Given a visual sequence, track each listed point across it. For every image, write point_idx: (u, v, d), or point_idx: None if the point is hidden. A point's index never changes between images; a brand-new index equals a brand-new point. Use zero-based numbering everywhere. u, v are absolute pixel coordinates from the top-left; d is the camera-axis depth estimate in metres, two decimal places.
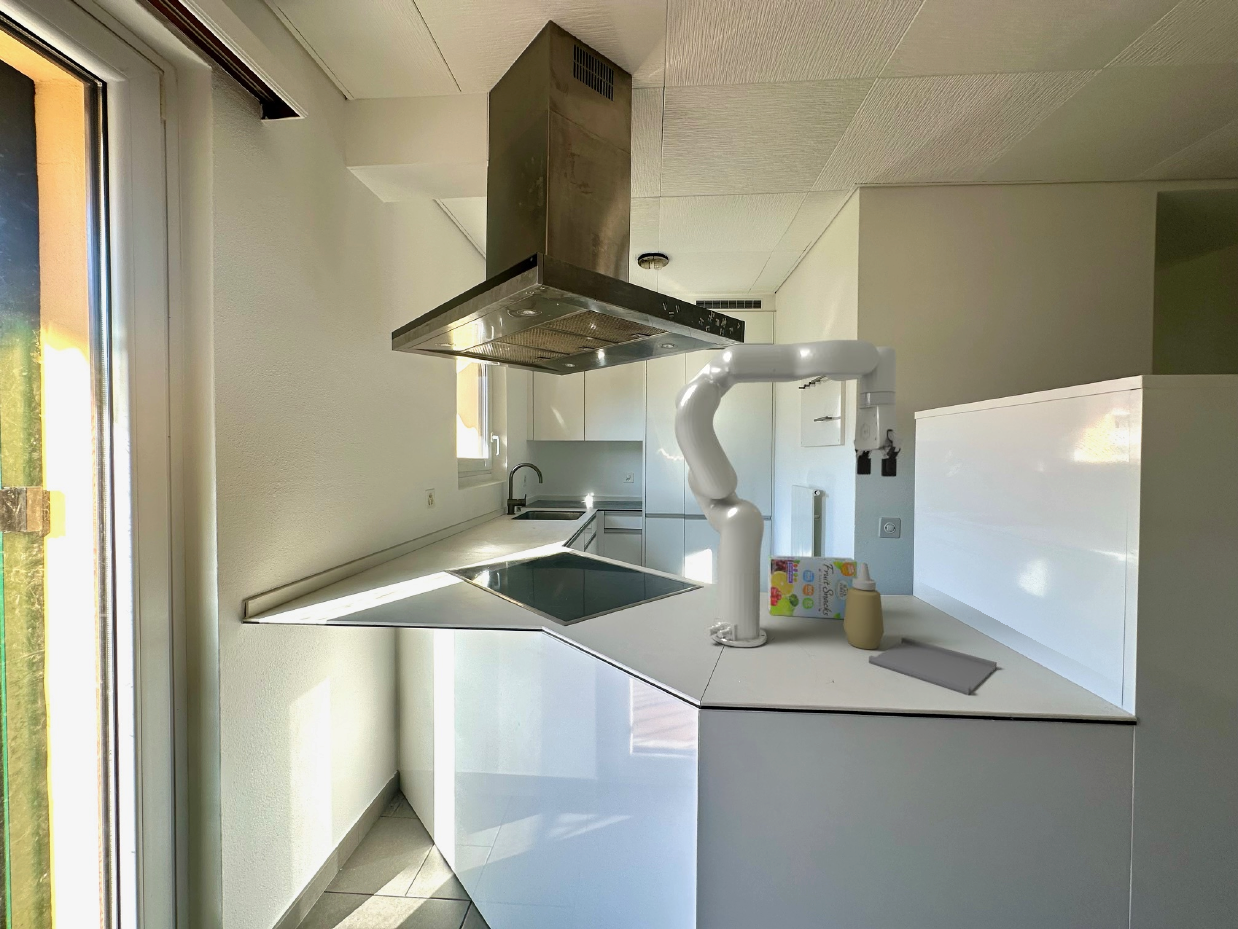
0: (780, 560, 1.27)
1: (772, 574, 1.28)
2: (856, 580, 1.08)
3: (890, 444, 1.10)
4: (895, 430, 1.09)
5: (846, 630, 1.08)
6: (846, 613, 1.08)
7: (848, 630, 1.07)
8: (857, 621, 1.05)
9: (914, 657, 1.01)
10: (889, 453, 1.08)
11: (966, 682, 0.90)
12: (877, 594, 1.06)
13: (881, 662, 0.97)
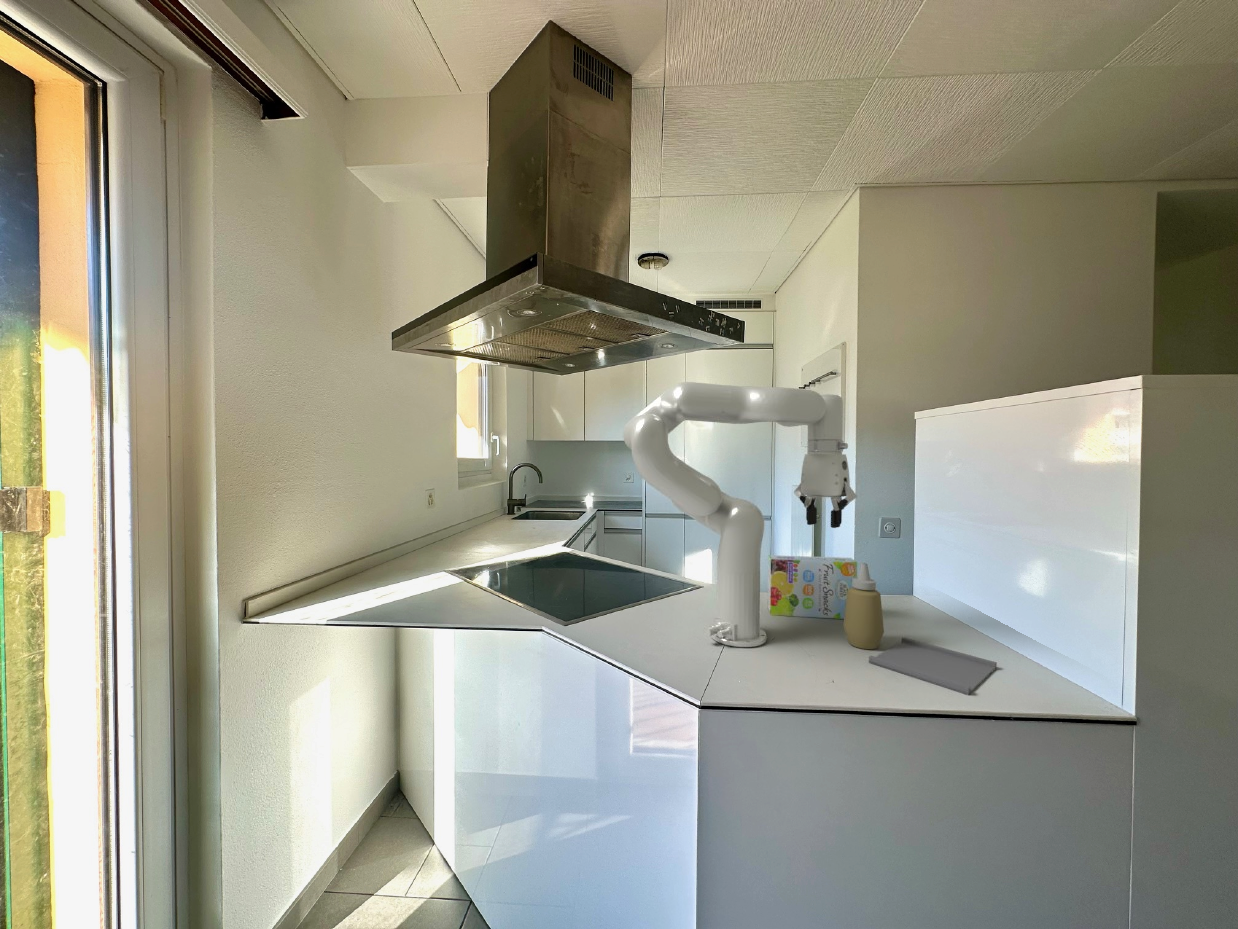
0: (780, 560, 1.27)
1: (772, 574, 1.28)
2: (856, 580, 1.08)
3: None
4: None
5: (846, 630, 1.08)
6: (846, 613, 1.08)
7: (848, 630, 1.07)
8: (857, 621, 1.05)
9: (914, 657, 1.01)
10: None
11: (966, 682, 0.90)
12: (877, 594, 1.06)
13: (881, 662, 0.97)
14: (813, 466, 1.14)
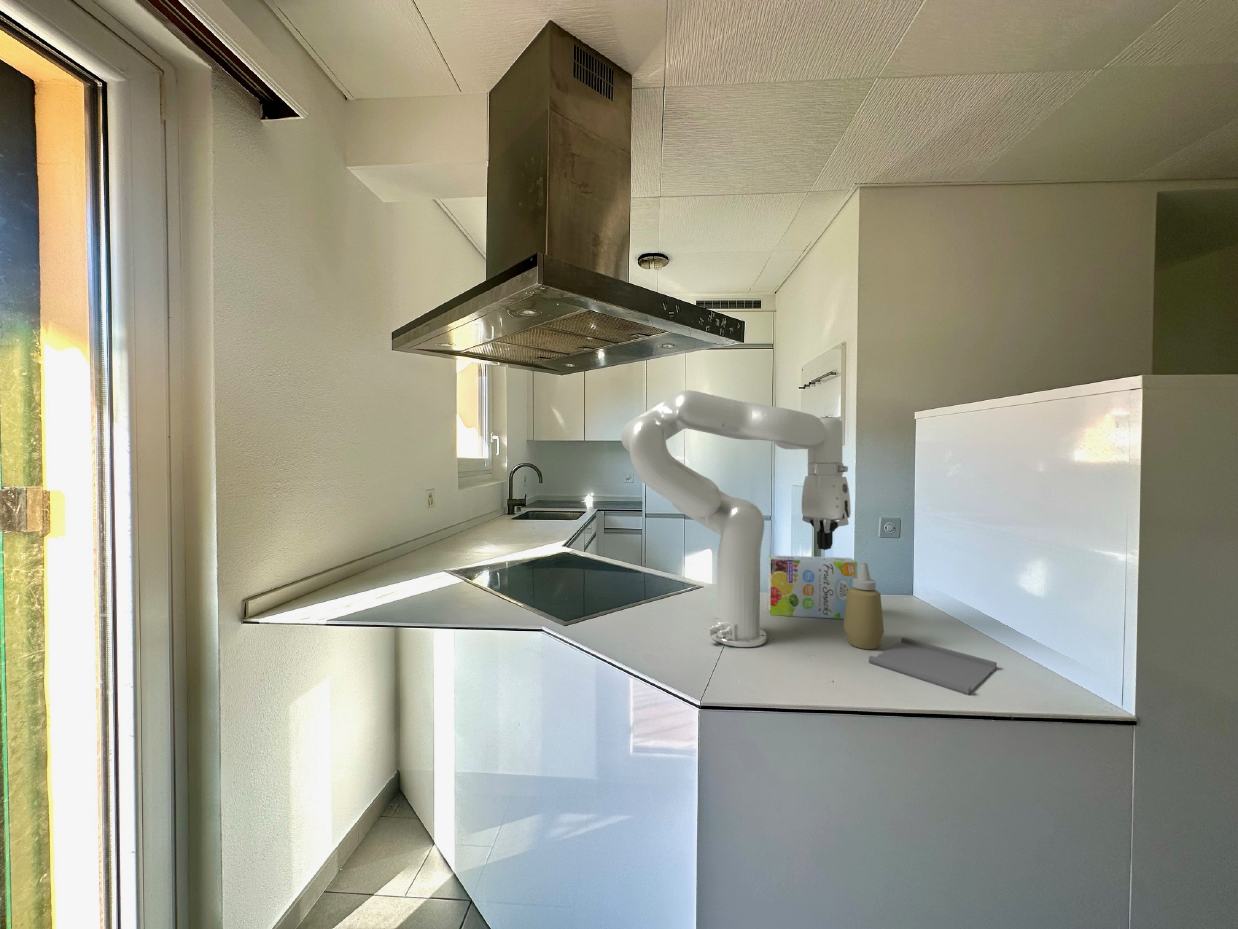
0: (780, 560, 1.27)
1: (772, 574, 1.28)
2: (856, 580, 1.08)
3: None
4: None
5: (846, 630, 1.08)
6: (846, 613, 1.08)
7: (848, 630, 1.07)
8: (857, 621, 1.05)
9: (914, 657, 1.01)
10: None
11: (966, 682, 0.90)
12: (877, 594, 1.06)
13: (881, 662, 0.97)
14: (813, 489, 1.14)
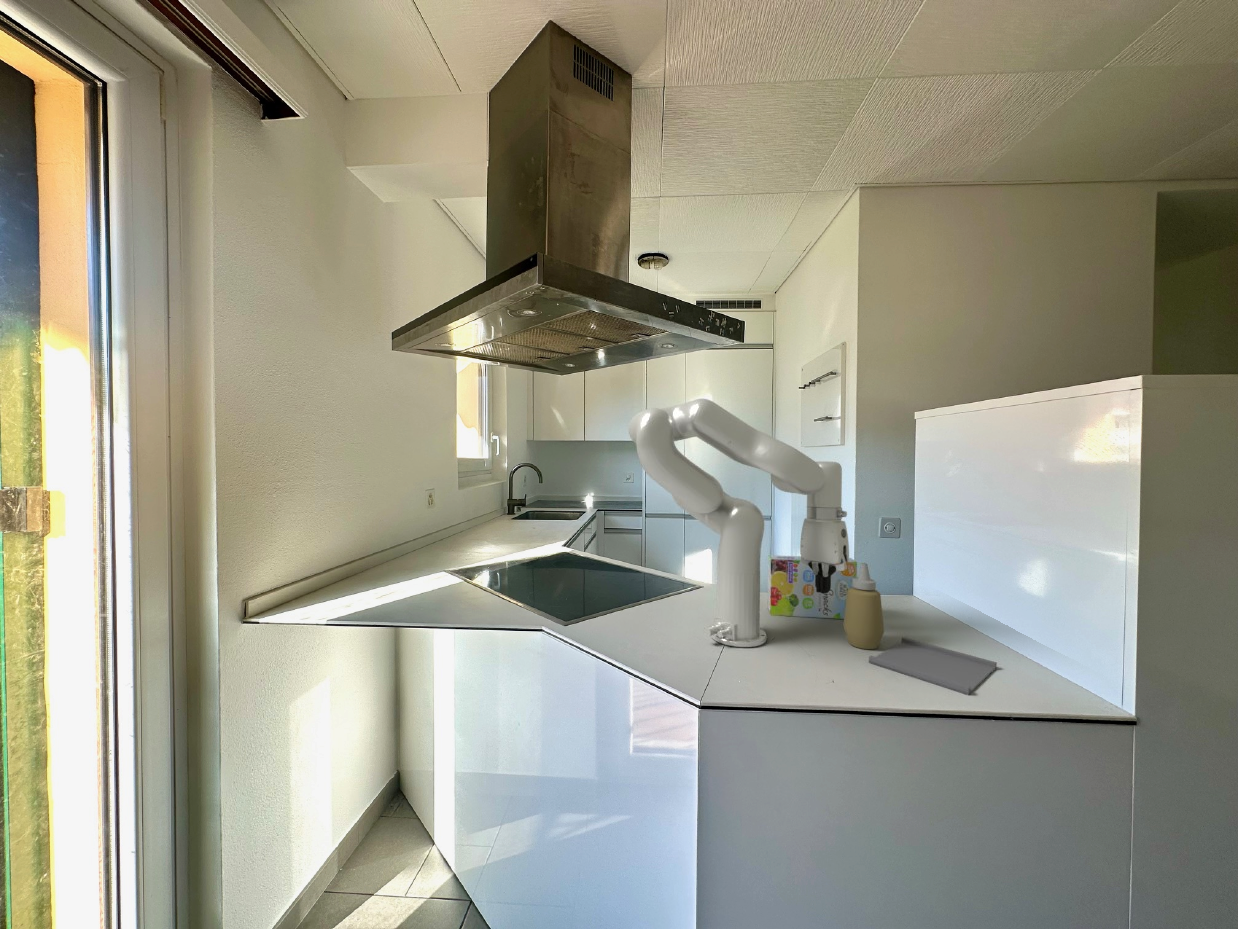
0: (780, 560, 1.27)
1: (772, 574, 1.28)
2: (856, 580, 1.08)
3: None
4: None
5: (846, 630, 1.08)
6: (846, 613, 1.08)
7: (848, 630, 1.07)
8: (857, 621, 1.05)
9: (914, 657, 1.01)
10: None
11: (966, 682, 0.90)
12: (877, 594, 1.06)
13: (881, 662, 0.97)
14: (812, 532, 1.14)
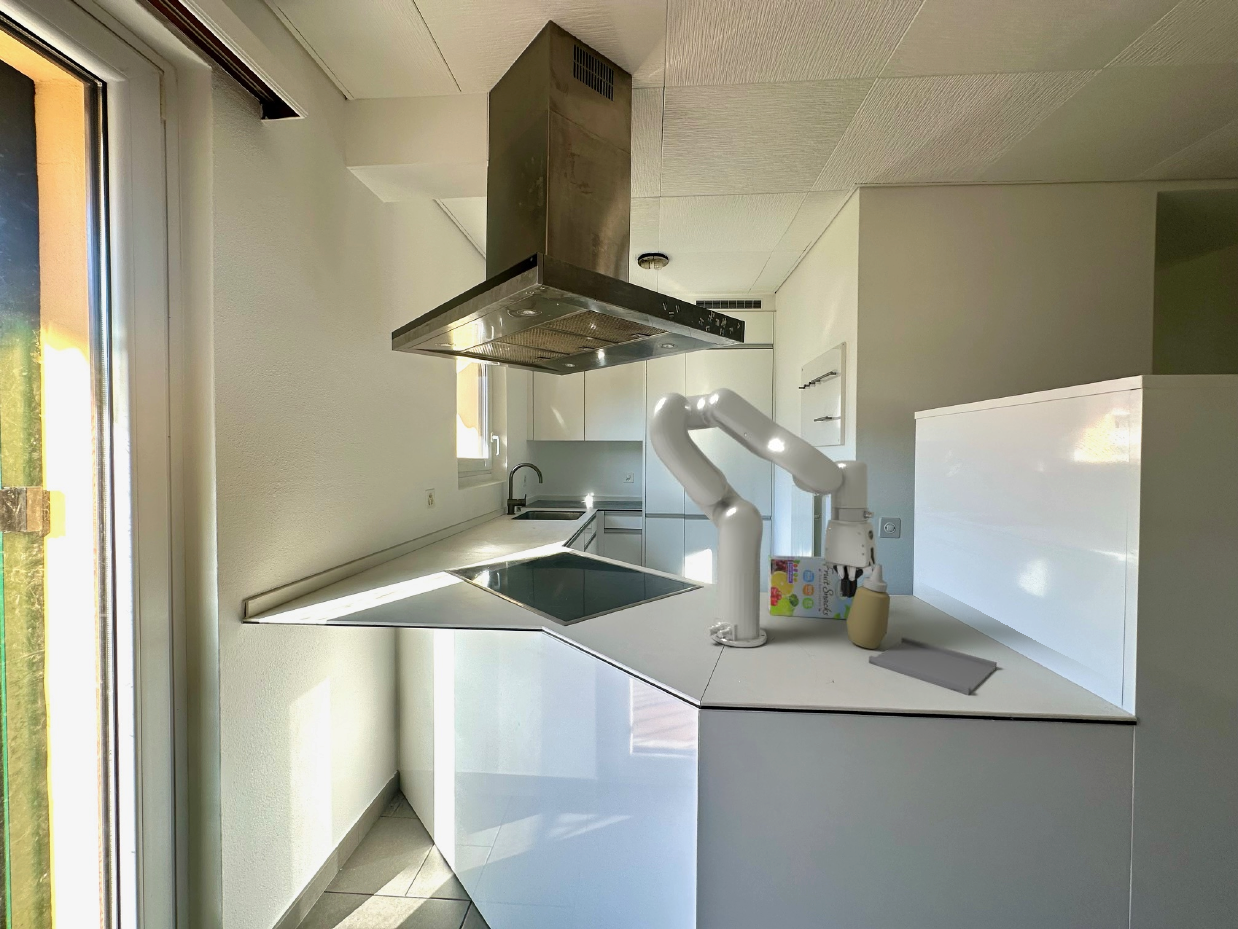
0: (780, 560, 1.27)
1: (772, 574, 1.28)
2: (868, 580, 1.06)
3: None
4: None
5: (849, 627, 1.07)
6: (852, 610, 1.07)
7: (851, 627, 1.06)
8: (862, 621, 1.05)
9: (914, 657, 1.01)
10: None
11: (966, 682, 0.90)
12: (887, 597, 1.04)
13: (881, 662, 0.97)
14: (837, 534, 1.10)
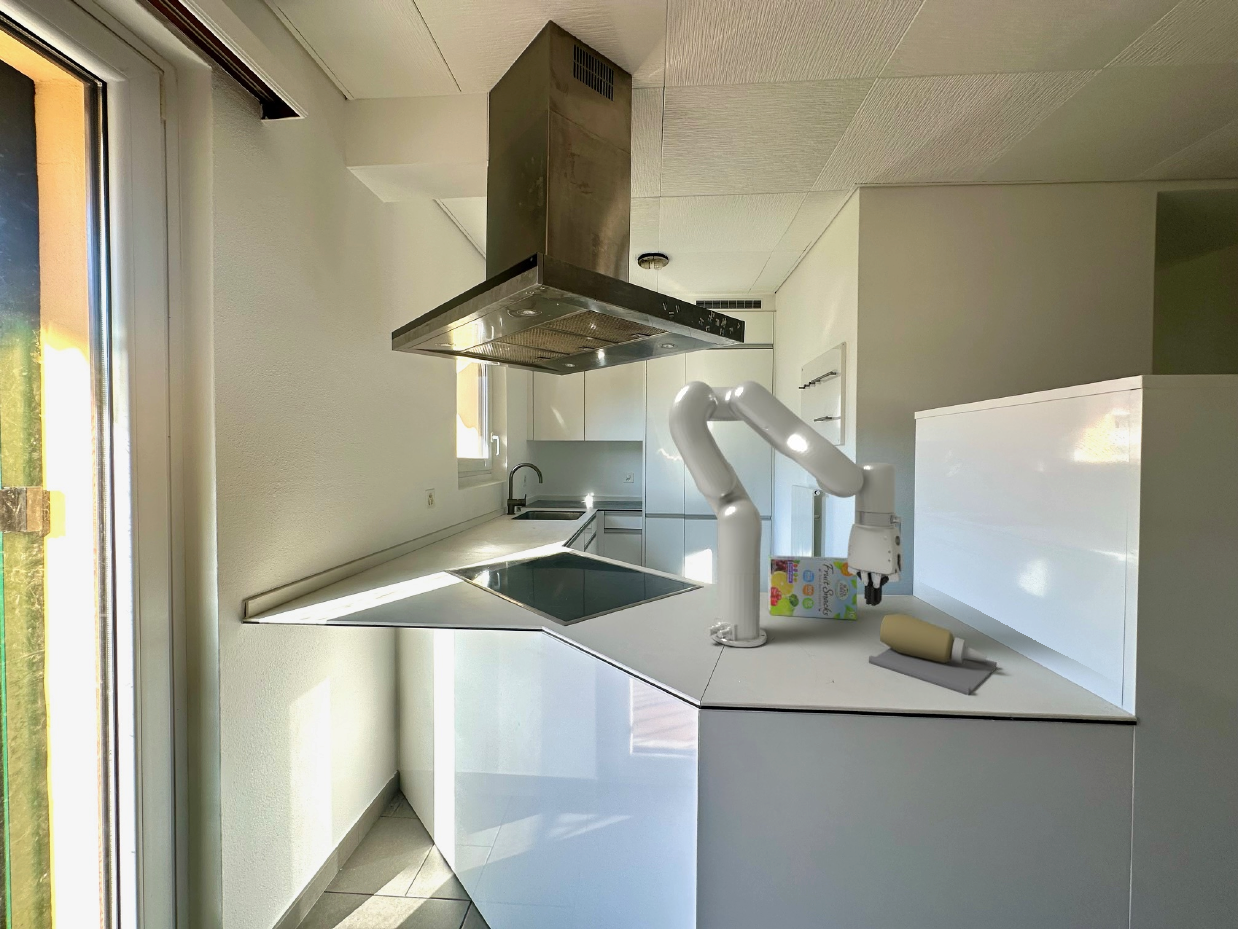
0: (780, 560, 1.27)
1: (772, 574, 1.28)
2: (963, 648, 0.95)
3: None
4: None
5: (898, 623, 1.01)
6: (919, 627, 0.99)
7: (899, 627, 1.01)
8: (911, 641, 0.99)
9: (914, 657, 1.01)
10: None
11: (966, 682, 0.90)
12: (945, 662, 0.98)
13: (881, 662, 0.97)
14: (862, 540, 1.06)
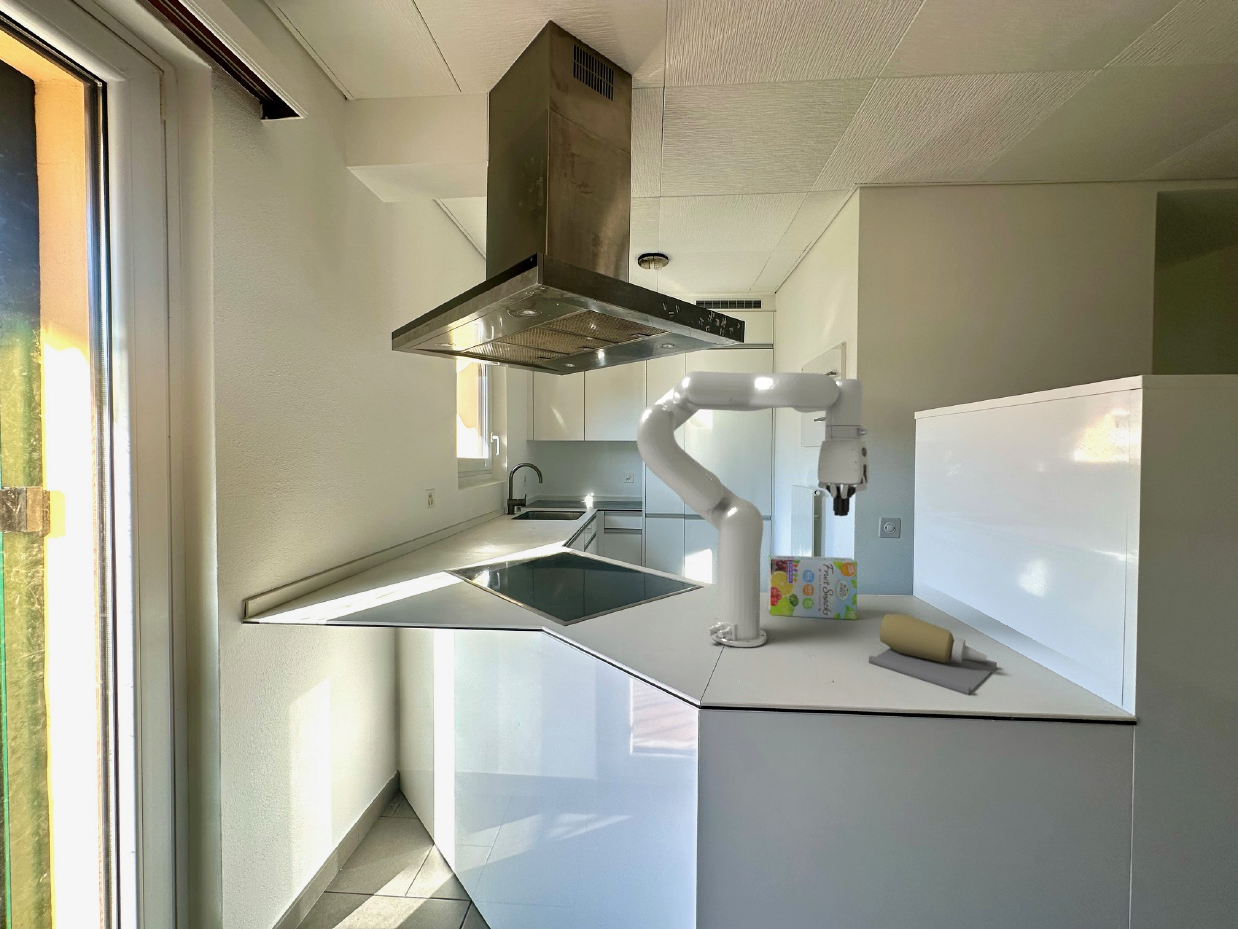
0: (780, 560, 1.27)
1: (772, 574, 1.28)
2: (963, 648, 0.95)
3: None
4: None
5: (898, 623, 1.01)
6: (919, 627, 0.99)
7: (899, 628, 1.00)
8: (911, 641, 0.99)
9: (914, 657, 1.01)
10: None
11: (966, 682, 0.90)
12: (945, 662, 0.98)
13: (881, 662, 0.97)
14: (831, 453, 1.11)
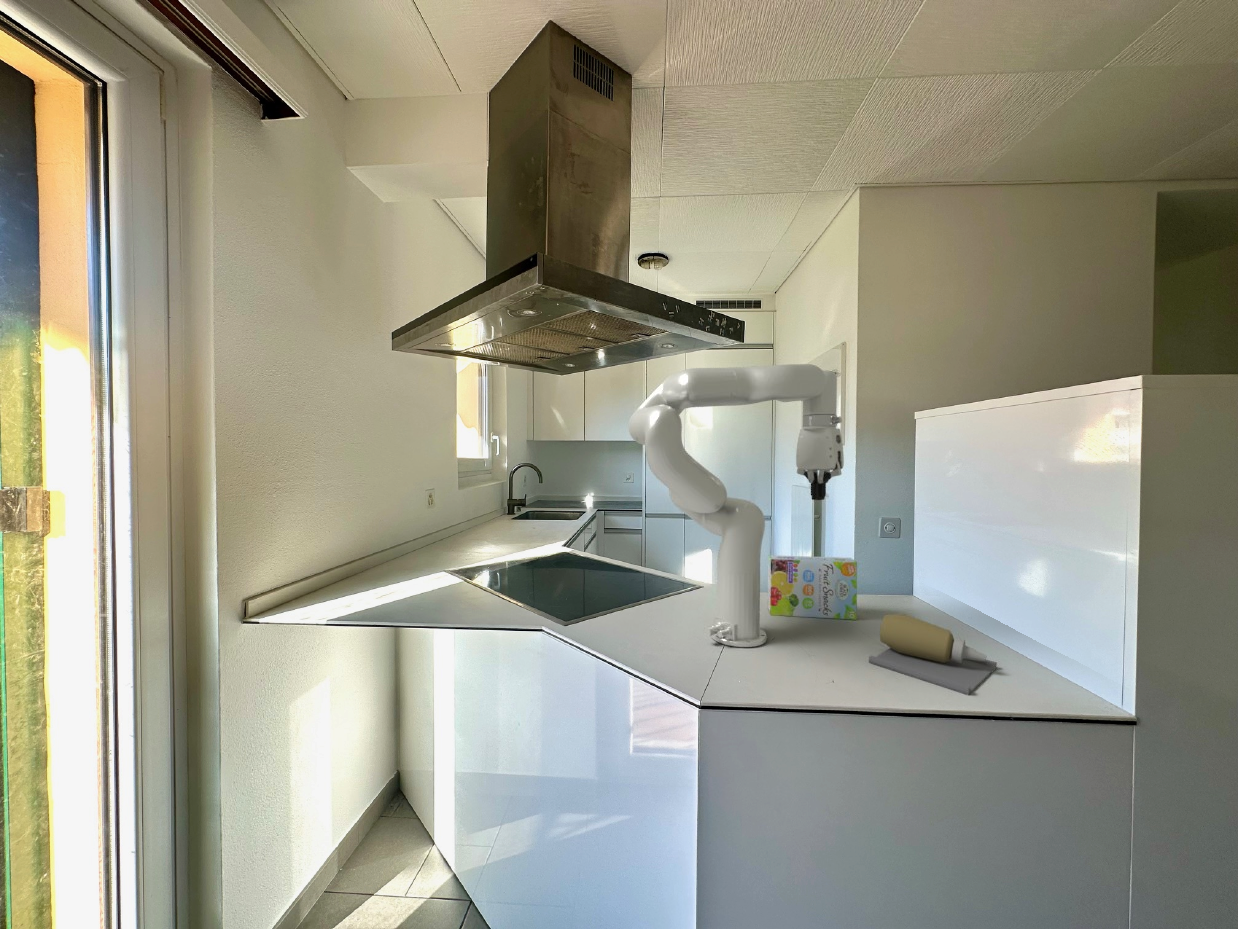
0: (780, 560, 1.27)
1: (772, 574, 1.28)
2: (963, 648, 0.95)
3: None
4: None
5: (898, 623, 1.01)
6: (919, 627, 0.99)
7: (899, 628, 1.00)
8: (911, 641, 0.99)
9: (914, 657, 1.01)
10: None
11: (966, 682, 0.90)
12: (945, 662, 0.98)
13: (881, 662, 0.97)
14: (808, 441, 1.17)
